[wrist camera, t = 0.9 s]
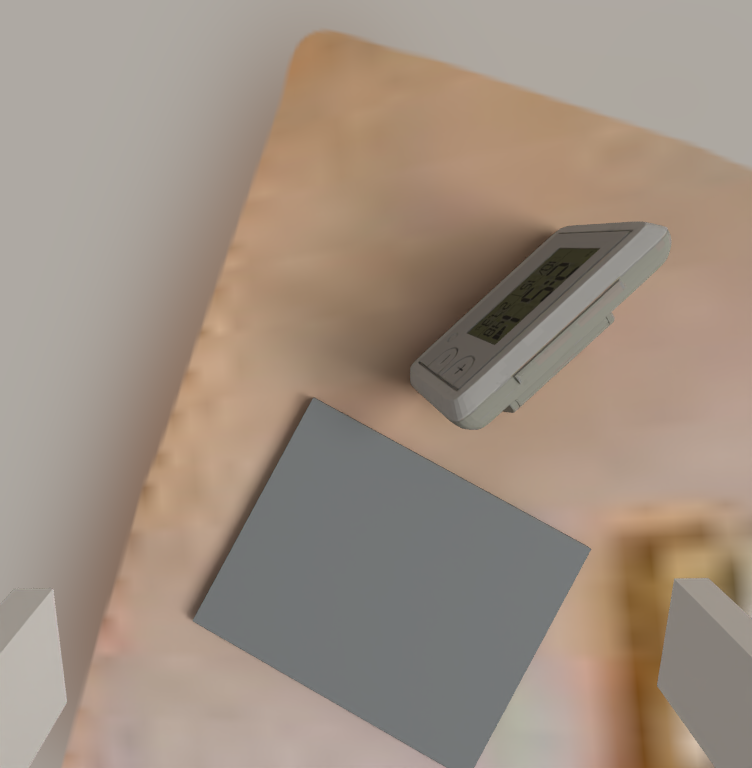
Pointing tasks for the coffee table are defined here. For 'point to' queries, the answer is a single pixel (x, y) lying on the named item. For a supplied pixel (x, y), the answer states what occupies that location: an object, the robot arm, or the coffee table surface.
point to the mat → (391, 586)
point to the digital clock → (537, 319)
